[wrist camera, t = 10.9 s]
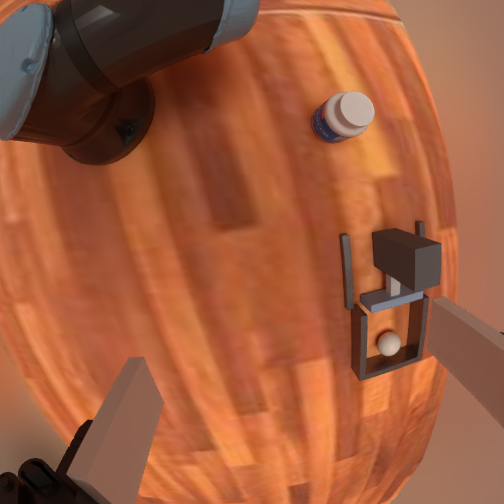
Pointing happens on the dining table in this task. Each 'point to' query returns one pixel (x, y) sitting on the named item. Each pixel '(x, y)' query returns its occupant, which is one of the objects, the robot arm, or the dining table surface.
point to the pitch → (359, 325)
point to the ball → (389, 343)
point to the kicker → (403, 268)
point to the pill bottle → (343, 117)
